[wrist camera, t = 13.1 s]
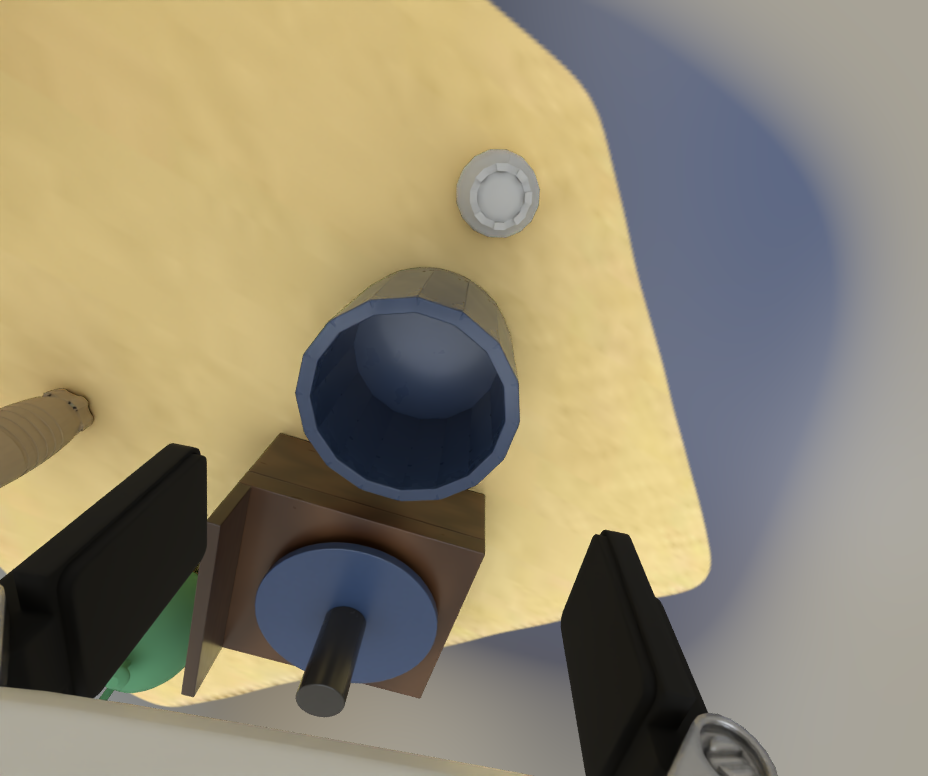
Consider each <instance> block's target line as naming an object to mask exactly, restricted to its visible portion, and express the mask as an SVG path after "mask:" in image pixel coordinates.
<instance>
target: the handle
mask: <svg viewBox="0 0 928 776" xmlns="http://www.w3.org/2000/svg"><path fill="white" fill-rule="evenodd" d="M88 404H89V403H88V401H87V400H86V399H85V398H84V397H82V396H77V395H74V394H72V393H70V392H68V391H67V390H66V389H55V390H51V391H48V392H46V393H44V395H43V396H42V397H35V398H31V399H26V400H23V401H20V402H17V403H14V404H11V405H8V406H5V407H2V408H0V488H1V487H3V486H5V485H7V484H8V483H10V482H12V481H14V480H16V479H18V478H19V477H21V476H23V475H24V474H26V473H28V472H29V471H31V470H33V469H34V468H36V467H37V466H39V465H40V464H42V463H43V462H45V461H46V460H47V459H49V458H50V457H51V456H53V455H54V454H55V453H57V452H58V451H59V450H60V449H62V448H63V447H64V446H65V445H66V444H68V443H69V442H70V441H71V440H72V439H73V438H74V436H76V435H77V434H78V433H79V432H80V431H83V430H85V429H86V428H87V427H89V426H90V425H91V424H92V422H93V416H92V415H91V413H90V411H89V408H88Z"/></svg>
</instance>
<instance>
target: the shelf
mask: <svg viewBox="0 0 928 776" xmlns="http://www.w3.org/2000/svg"><path fill="white" fill-rule="evenodd" d="M329 542H344V543H352V544H359V545H363V546H367V547H371V548H374V549H377V550H380V551H382V552H385V553H387V554H389V555H391V556H393V557H395V558H397V559H398V560H400V561H402V562H403V563H404V564H406V565H407V566H408V567H410V568H411V569H412V570H413V571H414V572H415V573H416V574H417V575H419V576H420V577H421V579H422V580H423V581H424V583H425V584H426V585H427V587H428V588H429V590H430V592H431V593H432V596H433V598H434V601H435V603H436V607H437V612H438V626H437V633H436V638H435V641H434V644H433V646H432V648H431V649H430V651H429V653H428V654H427V655H426V657H425V658H424V659H423V660H422V661H421V662H420V663H419V664H418V665H417V666H415V667H414V668H412V669H411V670H409V671H408V672H406V673H404V674H402V675H400V676H397V677H394V678H392V679H388V680H384V681H379V682H373V683H362V684H366V685H370V686H374V687H377V688H381V689H385V690H389V691H393V692H397V693H400V694H404V695H409V696H412V697H416V698H421V696H422V693H423V691H424V689H425V687H426V685H427V682H428V680H429V678H430V676H431V673H432V671H433V669H434V667H435V664H436V662H437V660H438V658H439V656H440V653H441V651H442V649H443V647H444V644H445V642H446V640H447V638H448V636H449V633H450V631H451V629H452V627H453V624H454V622H455V620H456V618H457V616H458V613H459V611H460V609H461V607H462V604H463V602H464V600H465V598H466V596H467V593H468V591H469V589H470V587H471V584H472V582H473V580H474V578H475V575H476V573H477V571H478V569H479V567H480V564H481V562H482V560H483V558H484V555H485V495H483V494H480V493H476V492H473V491H470V490H464V491H461V492H459V493H456V494H453V495H451V496H448V497H446V498H443V499H441V500H440V499H439V500H422V501H400V500H399V501H398V500H394V499H391V498H387V497H384V496H381V495H377V494H374V493H371V492H367V491H364V490H362V489H359V488H358V487H356V486H355V485H354V484H352V483H351V482H349V481H348V480H346V479H345V478H344V477H342V476H341V475H339V474H338V473H337V472H335V471H334V470H332V469H331V468H329V467H328V466H327V465H326V464H325V462H324V461H323V459H322V458H321V457H320V455H319V454H318V452H317V451H316V449H315V448H314V447H313V445H312V444H311V442H308V441H304V440H301V439H298V438H295V437H291V436H288V435H285V434H281V433H280V434H279V435H278V436H277V437H276V438H275V440H274V441H273V442H272V443H271V444H270V446H269V447H268V448H267V449H266V450H265V452H264V453H263V454H262V455H261V456H260V458H259V459H258V460H257V461H256V462H255V463H254V465H253V466H252V467H251V468H250V469H249V471H248V472H247V473H246V474H245V475H244V476H243V477H242V479H241V480H240V481H239V482H238V484H237V485H236V486H235V487H234V488H233V490H232V491H231V492H230V493H229V494H228V496H227V497H226V498H225V499H224V500H223V501H222V503H221V504H220V505H219V506H218V507H217V509H216V510H215V511H214V512H213V513H212V515H211V516H210V517H209V518H208V519H207V548H206V552H205V554H204V556H203V559H202V560H201V562H200V564H199V572H198V579H197V586H196V593H195V600H194V607H193V614H192V621H191V628H190V636H189V643H188V650H187V657H186V664H185V671H184V678H183V685H182V692H181V694H183V695H187V696H191V697H194V696H195V694H196V692H197V691H198V689H199V687H200V685H201V684H202V682H203V680H204V678H205V677H206V675H207V673H208V671H209V670H210V668H211V666H212V664H213V663H214V661H215V659H216V657H217V656H218V654H219V652H220V650H221V649H222V647H224V648H228V649H232V650H236V651H239V652H243V653H247V654H251V655H255V656H259V657H262V658H266V659H270V660H274V661H278V662H282V663H285V664H289V665H293V664H291V663H290V662H288V661H287V660H286V659H284V658H283V657H282V656H281V655H279V654H278V653H277V652H276V651H275V650H274V649H273V648H272V647H271V645H270V644H269V643H268V642H267V640H266V639H265V637H264V636H263V634H262V632H261V630H260V628H259V625H258V623H257V619H256V615H255V598H256V593H257V590H258V587H259V585H260V583H261V581H262V580H263V578H264V576H265V574H266V573H267V572H268V570H269V569H270V568H271V566H273V565H274V564H275V563H276V562H277V561H278V560H279V559H281V558H282V557H284V556H285V555H287V554H288V553H290V552H293V551H295V550H297V549H299V548H302V547H305V546H309V545H314V544H319V543H329ZM293 666H294V665H293Z"/></svg>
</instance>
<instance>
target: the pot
mask: <svg viewBox="0 0 928 776" xmlns="http://www.w3.org/2000/svg"><path fill="white" fill-rule="evenodd" d="M295 394H296V399H297V404H298V408H299V412H300V417H301V421H302V425H303V430H304V432H305V435H306V437H307V438H308V439H309V441H310V442H311V444H312V445H313V447H314V448H315V449H316V451H317V452H318V454H319V455H320V457H321V458H322V459H323V461H324V462H325V464H326V465H327V466H328V467H329V468H331V469H332V470H334V471H335V472H337V473H338V474H339V475H341V476H342V477H344V478H345V479H346V480H348V481H349V482H351V483H352V484H354V485H355V486H356V487H358V488H359V489H362V490H364V491H367V492H371V493H374V494H377V495H381V496H384V497H387V498H391V499H394V500H398V501H399V500H400V501H422V500H439V499H440V500H441V499H443V498H446V497H448V496H451V495H453V494H456V493H459V492H461V491H464V490H466V489H469V488H471V487H474V486H476V485H477V484H478V483H479V482H480V481H481V480H483V479H484V478H485V477H486V476H487V475H488V474H489V473H490V472H491V471H492V470H493V469H494V468H495V467H496V466H497V465H499V464H500V463H501V462H502V461H503V460H504V458H505V457H506V454H507V452H508V449H509V447H510V445H511V442H512V440H513V438H514V435H515V433H516V431H517V428H518V426H519V422H520V409H519V382H518V376H517V370H516V364H515V359H514V353H513V347H512V341H511V335H510V331H509V329H508V327H507V325H506V323H505V320H504V318H503V315H502V314H501V312H500V310H499V308H498V306H497V304H496V303H495V302H494V301H493V300H492V299H491V297H490V296H489V295H488V294H487V293H486V292H485V291H484V290H483V289H481V288H480V287H479V286H478V285H476V284H475V283H474V282H472V281H471V280H469V279H467V278H465V277H463V276H461V275H459V274H456V273H454V272H450V271H447V270H443V269H437V268H412V269H406V270H400V271H398V272H396V273H394V274H391V275H389V276H387V277H385V278H383V279H382V280H380V281H378V282H376V283H375V284H373V285H371V286H370V287H368V288H367V289H366V290H365V291H364V292H362V293H361V294H360V295H359V296H358V297H357V298H355V299H354V300H353V301H352V302H351V303H350V304H348V305H347V306H346V307H345V308H344V309H342V310H341V311H340V312H339V313H338V314H337V315H335V316H334V317H333V318H332V319H331V320H330V321H328V323H327V324H326V325H325V327H324V328H323V329H322V330H321V332H320V333H319V334H318V336H317V337H316V338H315V340H314V341H313V342H312V343H311V345H310V346H309V347H308V349H307V350H306V351H305V353H304V355H303V358H302V363H301V368H300V372H299V377H298V382H297V387H296V392H295Z"/></svg>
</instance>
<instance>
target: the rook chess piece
mask: <svg viewBox="0 0 928 776" xmlns="http://www.w3.org/2000/svg"><path fill="white" fill-rule="evenodd" d="M539 192H540V189H539V186H538V182H537V179H536V176H535V173H534V171H533V169H532V168H531V167H530V166H529V165H528V163H527V162H526V161H525V160H524V159H523V157H521V156H519V155H517V154H515V153H513V152H511V151H509V150H495V149H490V150H488V151H486V152H483V153H481V154H479V155H477V156H475V157H474V158H473V159H472V160H471V161H470V162H469V163H468V164H467V165H466V166H465V167H464V168H463V171H462V173H461V176H460V178H459V181H458V183H457V205H458V208H459V210H460V213H461V216H462V218H463V219H464V220H465V221H466V223H467V224H468V225H469V226H470V227H471V228H472V229H473V230H474V231H477V232H479V233H481V234H483V235H485V236H487V237H508V236H511V235H513V234H516V233H518V232H520V231H521V230H522V229H523V228H525V227H526V226H527V225H528V224H529V223H530V222H531V221H532V219H533V217H534V214H535V212H536V210H537V208H538V205H539Z"/></svg>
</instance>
